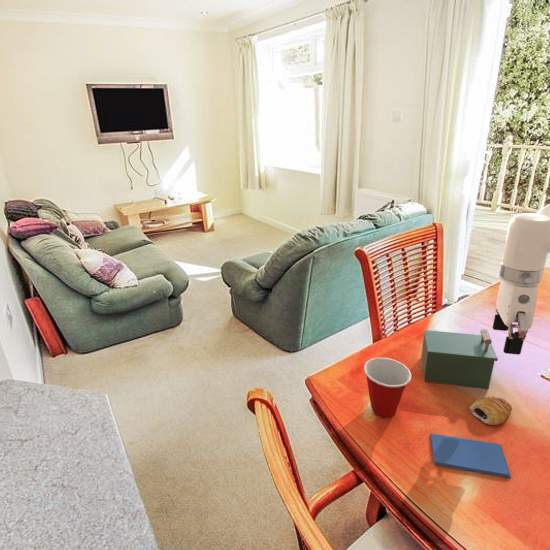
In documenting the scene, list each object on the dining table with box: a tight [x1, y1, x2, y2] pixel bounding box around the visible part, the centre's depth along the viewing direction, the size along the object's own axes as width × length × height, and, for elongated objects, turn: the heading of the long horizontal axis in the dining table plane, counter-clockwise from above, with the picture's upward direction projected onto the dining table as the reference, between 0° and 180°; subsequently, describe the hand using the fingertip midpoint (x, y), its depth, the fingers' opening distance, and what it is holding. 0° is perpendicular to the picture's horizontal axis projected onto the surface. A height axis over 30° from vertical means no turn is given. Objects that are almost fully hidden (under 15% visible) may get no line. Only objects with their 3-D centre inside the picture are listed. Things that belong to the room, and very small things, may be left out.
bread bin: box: [420, 333, 495, 390], centre depth 101 cm, size 16×11×9 cm
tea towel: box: [430, 433, 512, 479], centre depth 79 cm, size 14×8×1 cm, turn 74°
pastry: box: [468, 396, 513, 426], centre depth 88 cm, size 9×7×4 cm
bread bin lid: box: [423, 328, 498, 362], centre depth 99 cm, size 16×11×4 cm, turn 75°
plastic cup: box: [363, 357, 412, 419], centre depth 90 cm, size 11×11×12 cm
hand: (505, 340), depth 86 cm, fingers open, 9 cm apart
